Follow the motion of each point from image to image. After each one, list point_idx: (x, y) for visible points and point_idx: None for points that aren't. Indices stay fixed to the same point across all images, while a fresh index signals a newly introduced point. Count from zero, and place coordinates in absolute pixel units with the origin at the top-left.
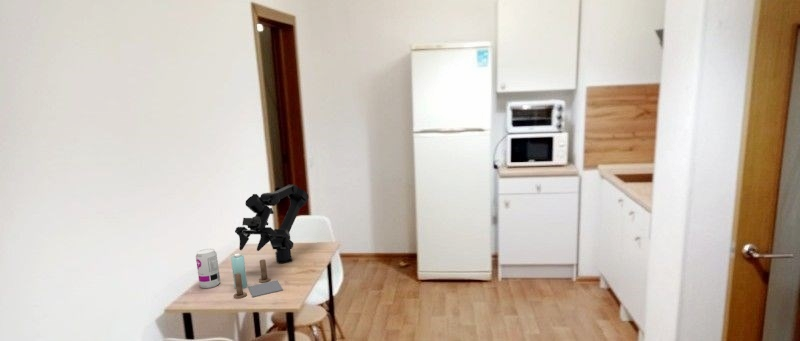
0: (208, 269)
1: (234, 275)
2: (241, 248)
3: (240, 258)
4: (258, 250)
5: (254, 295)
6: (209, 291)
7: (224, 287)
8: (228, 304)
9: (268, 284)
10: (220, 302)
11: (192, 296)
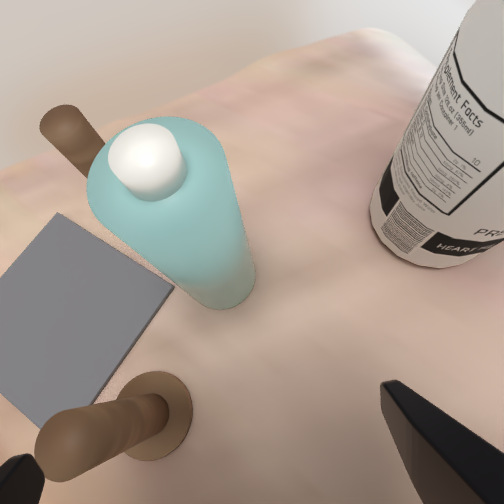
0: (414, 115)
1: (77, 109)
2: (393, 419)
3: (94, 170)
4: (22, 480)
5: (54, 224)
6: (335, 168)
7: (309, 231)
8: (118, 131)
9: (72, 360)
10: None
11: (354, 105)
